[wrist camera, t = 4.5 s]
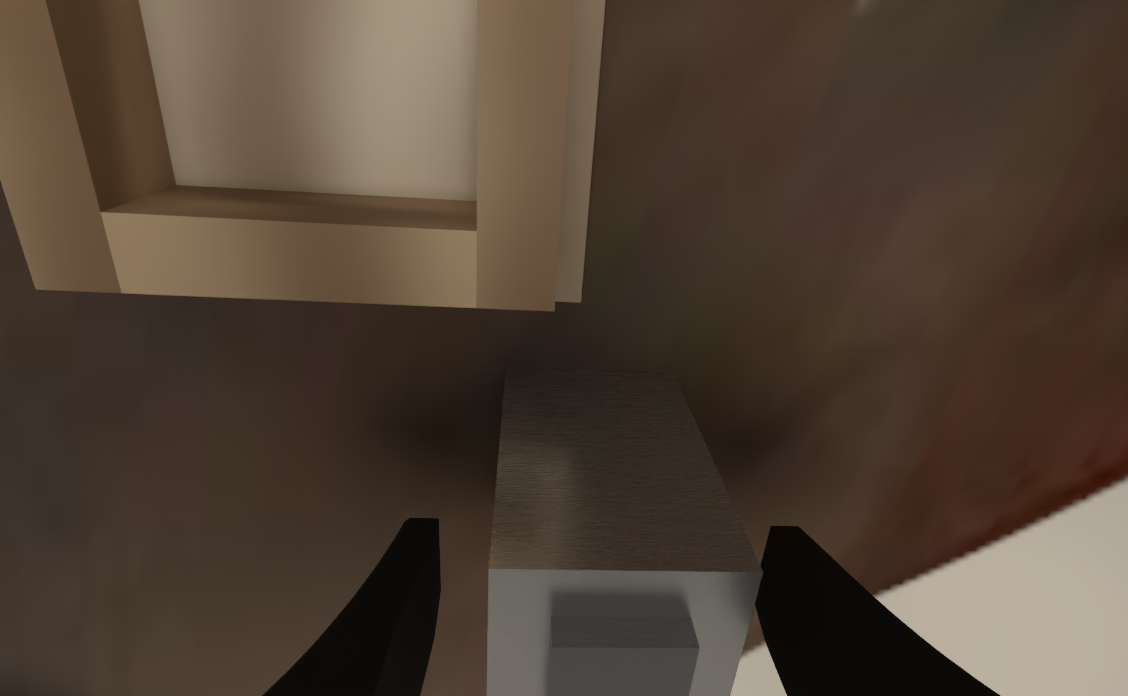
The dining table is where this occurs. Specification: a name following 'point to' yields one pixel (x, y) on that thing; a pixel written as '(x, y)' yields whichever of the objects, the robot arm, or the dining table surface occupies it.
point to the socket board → (303, 147)
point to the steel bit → (612, 543)
